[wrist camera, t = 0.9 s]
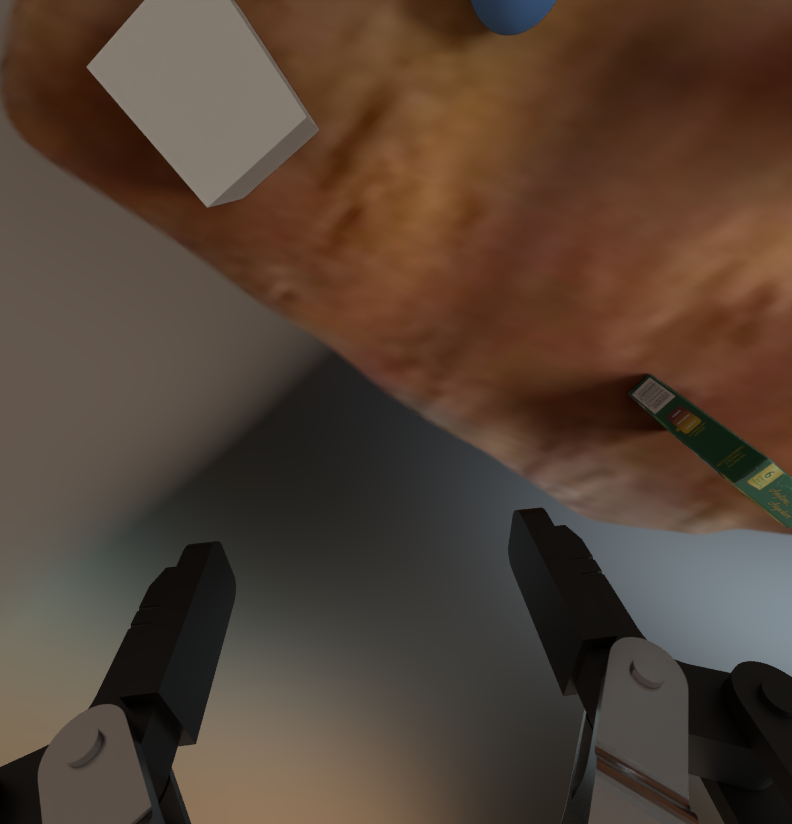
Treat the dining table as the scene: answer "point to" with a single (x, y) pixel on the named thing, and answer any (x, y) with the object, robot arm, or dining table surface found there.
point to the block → (204, 94)
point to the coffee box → (719, 448)
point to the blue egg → (511, 14)
